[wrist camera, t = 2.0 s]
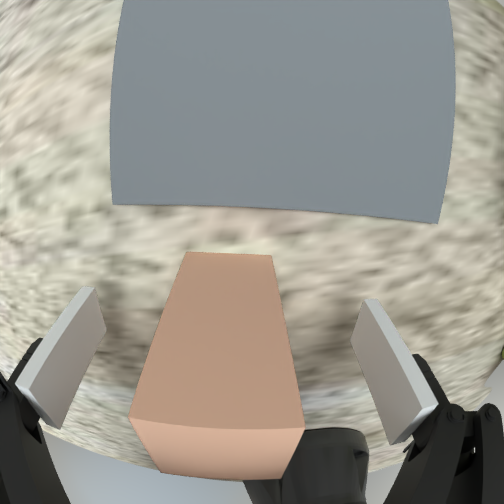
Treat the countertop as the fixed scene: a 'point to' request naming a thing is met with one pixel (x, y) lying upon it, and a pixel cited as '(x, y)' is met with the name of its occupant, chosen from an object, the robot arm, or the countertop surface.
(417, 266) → the countertop surface
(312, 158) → the mat
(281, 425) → the block
